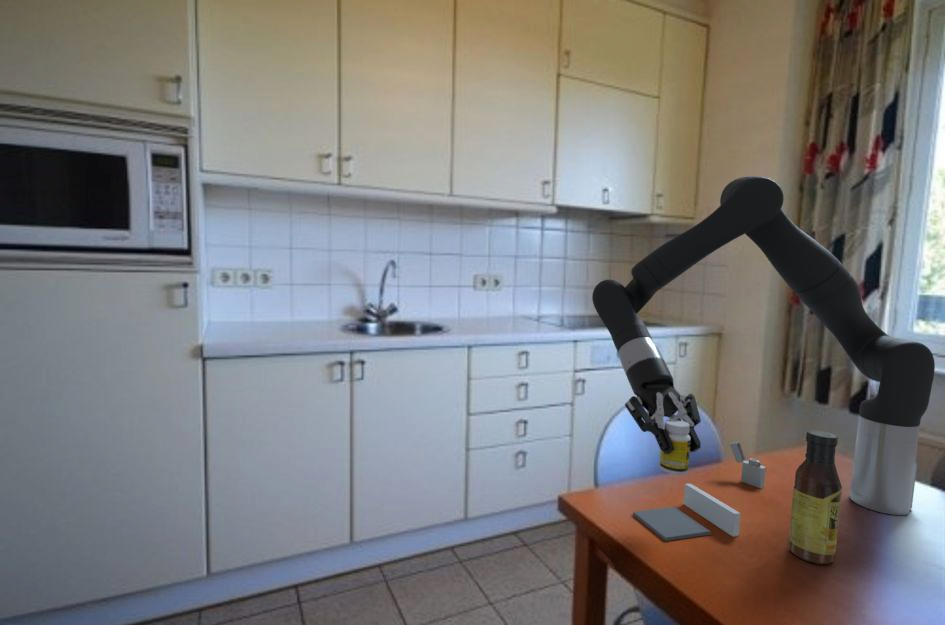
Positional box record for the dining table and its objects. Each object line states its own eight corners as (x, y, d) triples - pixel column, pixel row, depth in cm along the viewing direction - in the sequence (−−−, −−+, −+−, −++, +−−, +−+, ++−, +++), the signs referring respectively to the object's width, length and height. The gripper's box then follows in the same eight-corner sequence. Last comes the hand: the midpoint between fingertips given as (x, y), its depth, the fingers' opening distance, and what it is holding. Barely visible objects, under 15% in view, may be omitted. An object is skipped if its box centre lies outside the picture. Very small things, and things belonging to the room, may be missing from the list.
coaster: (674, 509, 94) (674, 506, 94) (709, 534, 86) (710, 531, 85) (632, 514, 91) (633, 511, 91) (665, 541, 83) (665, 537, 83)
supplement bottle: (690, 476, 85) (694, 428, 84) (661, 473, 86) (665, 425, 85) (684, 466, 90) (688, 420, 89) (656, 462, 91) (660, 417, 90)
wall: (688, 503, 97) (690, 483, 96) (738, 535, 85) (740, 513, 85) (683, 504, 96) (685, 484, 96) (732, 536, 85) (734, 514, 85)
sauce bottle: (836, 571, 76) (850, 444, 74) (787, 558, 79) (799, 435, 77) (832, 552, 82) (845, 432, 80) (787, 539, 85) (798, 425, 83)
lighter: (764, 486, 106) (767, 449, 105) (760, 488, 105) (764, 451, 104) (730, 474, 112) (733, 439, 111) (727, 476, 111) (729, 441, 110)
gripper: (621, 356, 91) (659, 444, 81) (686, 355, 95) (730, 438, 85) (603, 378, 96) (636, 463, 86) (665, 376, 101) (704, 457, 90)
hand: (683, 450), depth 86 cm, fingers closed on supplement bottle, 4 cm apart
